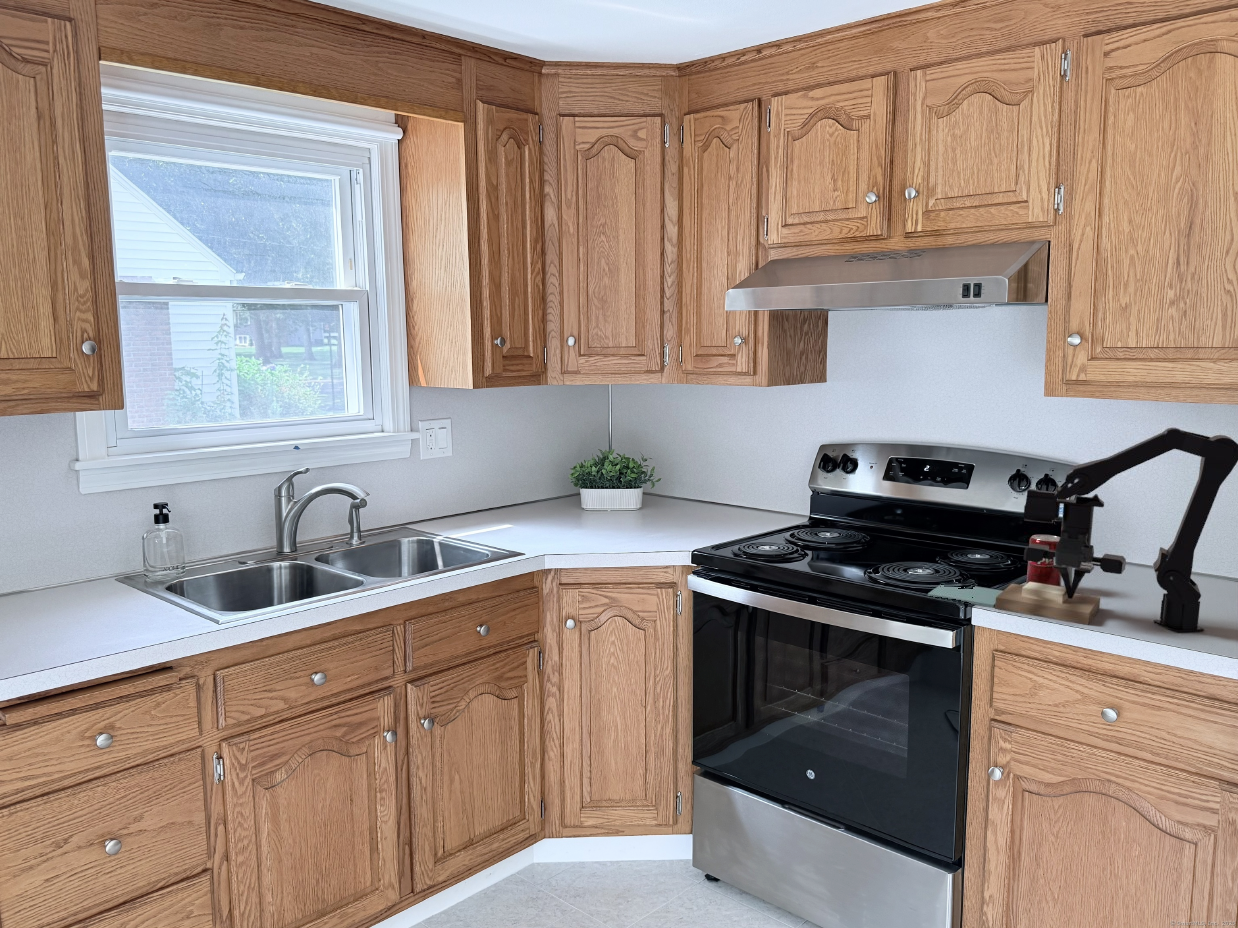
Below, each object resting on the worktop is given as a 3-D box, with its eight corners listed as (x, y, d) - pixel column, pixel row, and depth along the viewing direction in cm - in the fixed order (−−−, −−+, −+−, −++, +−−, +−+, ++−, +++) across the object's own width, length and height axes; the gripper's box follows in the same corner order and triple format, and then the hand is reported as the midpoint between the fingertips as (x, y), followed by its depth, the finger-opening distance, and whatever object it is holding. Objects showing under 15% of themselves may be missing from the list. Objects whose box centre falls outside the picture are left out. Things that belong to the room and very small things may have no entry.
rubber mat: (1008, 594, 211) (1008, 591, 211) (993, 607, 200) (993, 604, 200) (945, 583, 219) (945, 581, 219) (927, 596, 209) (927, 593, 208)
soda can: (1031, 582, 221) (1035, 532, 220) (1064, 588, 217) (1068, 537, 215) (1022, 588, 216) (1026, 537, 214) (1055, 594, 211) (1059, 542, 210)
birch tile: (1068, 597, 200) (1069, 587, 200) (1061, 603, 196) (1062, 594, 195) (1028, 590, 205) (1029, 581, 205) (1021, 596, 200) (1022, 587, 200)
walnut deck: (1099, 608, 201) (1100, 597, 200) (1087, 624, 189) (1088, 612, 189) (1011, 594, 211) (1011, 583, 211) (995, 608, 200) (995, 597, 199)
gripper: (1020, 525, 194) (1014, 598, 196) (1121, 538, 183) (1113, 615, 185) (1032, 517, 203) (1026, 587, 205) (1129, 529, 192) (1122, 602, 194)
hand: (1070, 598), depth 197 cm, fingers closed
